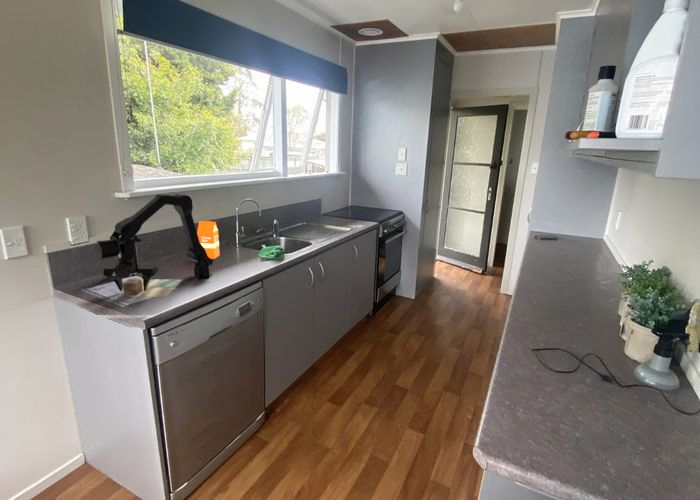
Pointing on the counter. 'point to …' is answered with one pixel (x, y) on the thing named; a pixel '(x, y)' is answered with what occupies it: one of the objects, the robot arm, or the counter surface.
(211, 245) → the orange juice
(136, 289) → the walnut block
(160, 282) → the birch board
